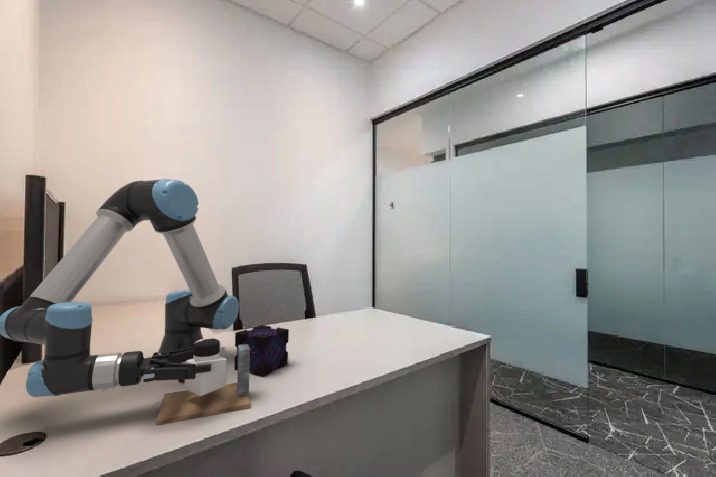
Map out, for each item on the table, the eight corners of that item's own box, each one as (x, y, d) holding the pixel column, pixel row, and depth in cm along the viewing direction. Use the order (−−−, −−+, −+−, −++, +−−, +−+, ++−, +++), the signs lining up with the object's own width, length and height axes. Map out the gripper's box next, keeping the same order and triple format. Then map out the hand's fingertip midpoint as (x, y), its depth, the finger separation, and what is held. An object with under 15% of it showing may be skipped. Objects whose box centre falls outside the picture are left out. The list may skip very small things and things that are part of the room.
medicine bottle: (226, 386, 83) (228, 339, 83) (200, 396, 77) (202, 346, 77) (210, 379, 86) (211, 334, 87) (183, 389, 80) (185, 341, 81)
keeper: (156, 425, 71) (158, 366, 72) (164, 397, 84) (166, 347, 84) (250, 407, 80) (251, 355, 80) (245, 385, 92) (246, 339, 93)
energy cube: (260, 358, 114) (261, 324, 114) (287, 364, 109) (288, 329, 109) (234, 370, 103) (235, 332, 103) (262, 377, 98) (263, 338, 98)
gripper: (131, 368, 84) (223, 358, 94) (105, 408, 64) (226, 390, 73) (132, 340, 84) (224, 332, 94) (107, 370, 64) (227, 356, 74)
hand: (225, 357), depth 84 cm, fingers closed on medicine bottle, 10 cm apart
